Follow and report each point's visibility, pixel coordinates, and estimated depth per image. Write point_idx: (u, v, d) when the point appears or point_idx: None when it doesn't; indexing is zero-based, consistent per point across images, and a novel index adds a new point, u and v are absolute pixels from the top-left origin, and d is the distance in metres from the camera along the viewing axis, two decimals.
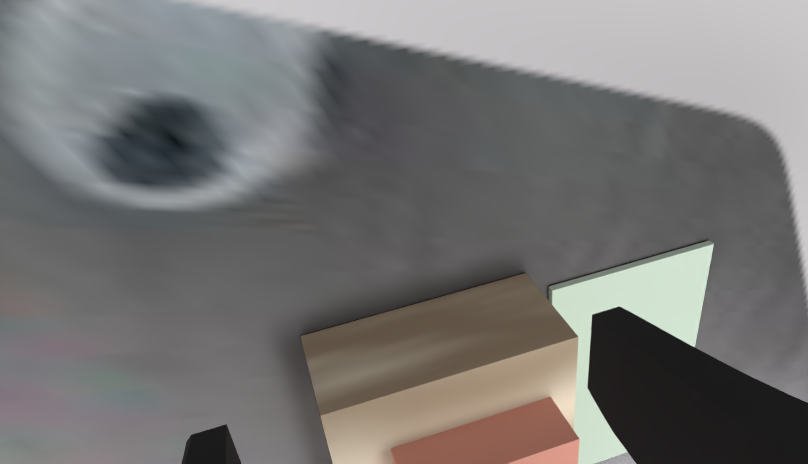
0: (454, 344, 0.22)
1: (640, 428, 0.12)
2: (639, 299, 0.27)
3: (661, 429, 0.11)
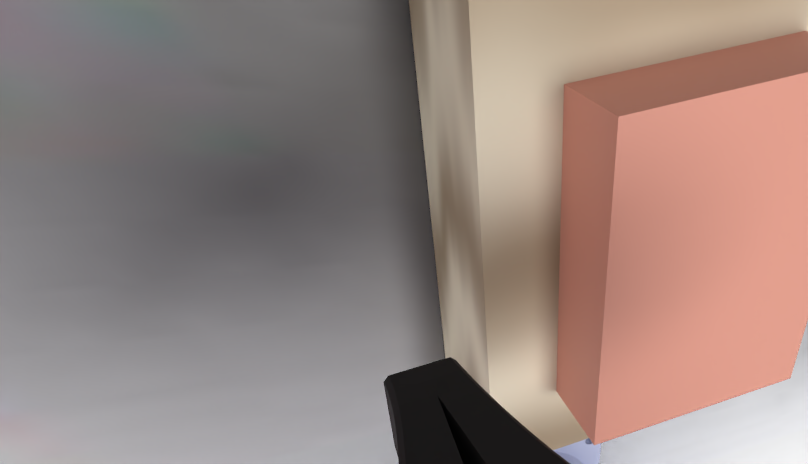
0: None
1: None
2: None
3: None
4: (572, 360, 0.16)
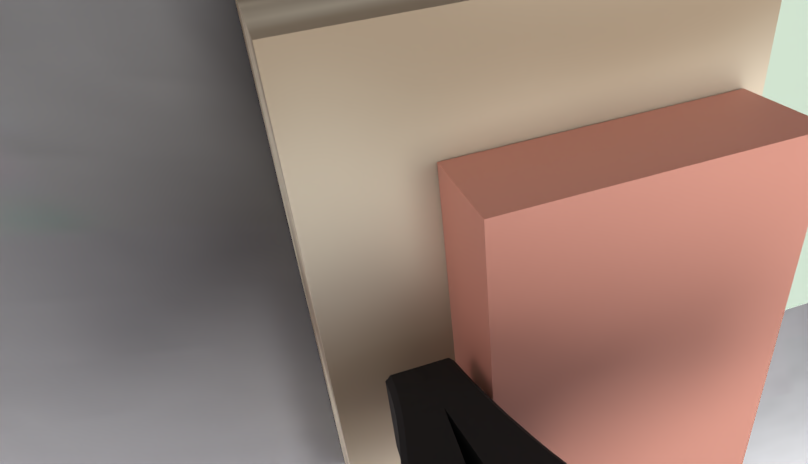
0: None
1: None
2: None
3: None
4: None
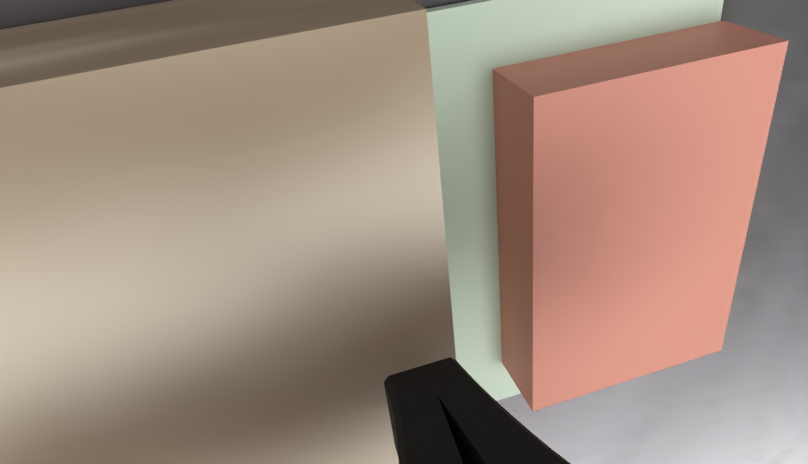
0: (148, 38, 0.10)
1: None
2: None
3: None
4: None
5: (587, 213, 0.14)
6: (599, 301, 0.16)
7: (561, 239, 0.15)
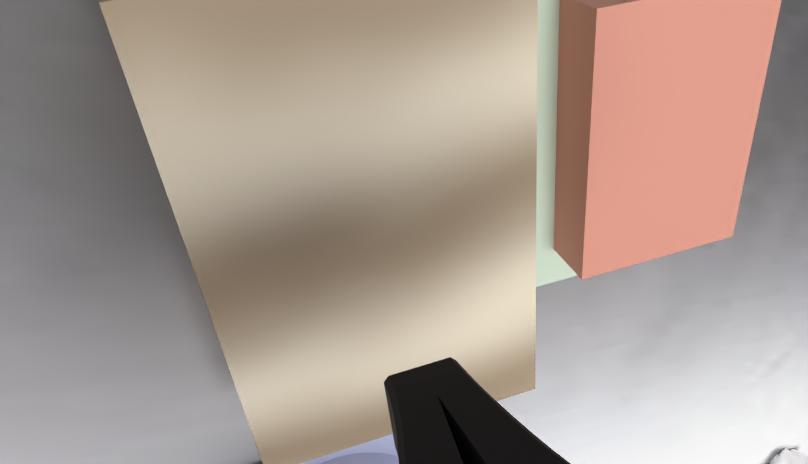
0: None
1: None
2: None
3: None
4: None
5: (631, 107, 0.19)
6: (638, 184, 0.20)
7: (611, 128, 0.19)
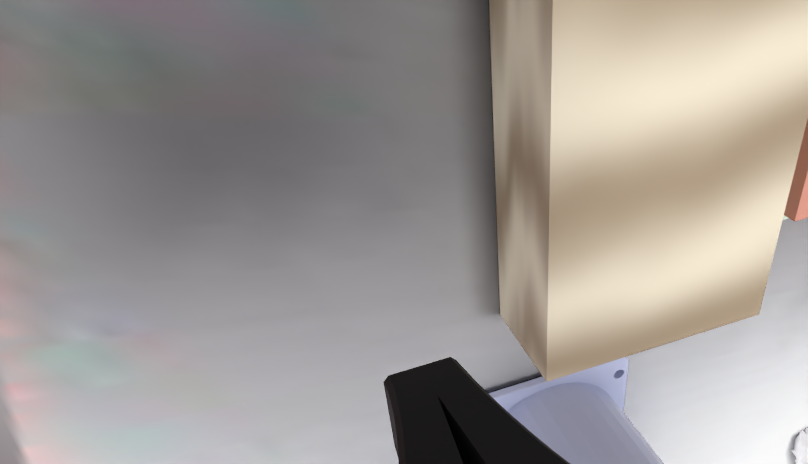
0: None
1: None
2: None
3: None
4: None
5: None
6: None
7: None
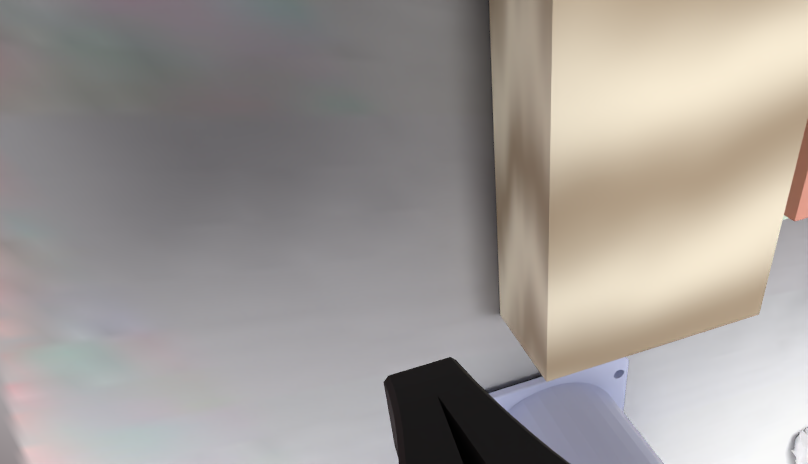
0: None
1: None
2: None
3: None
4: None
5: None
6: None
7: None
